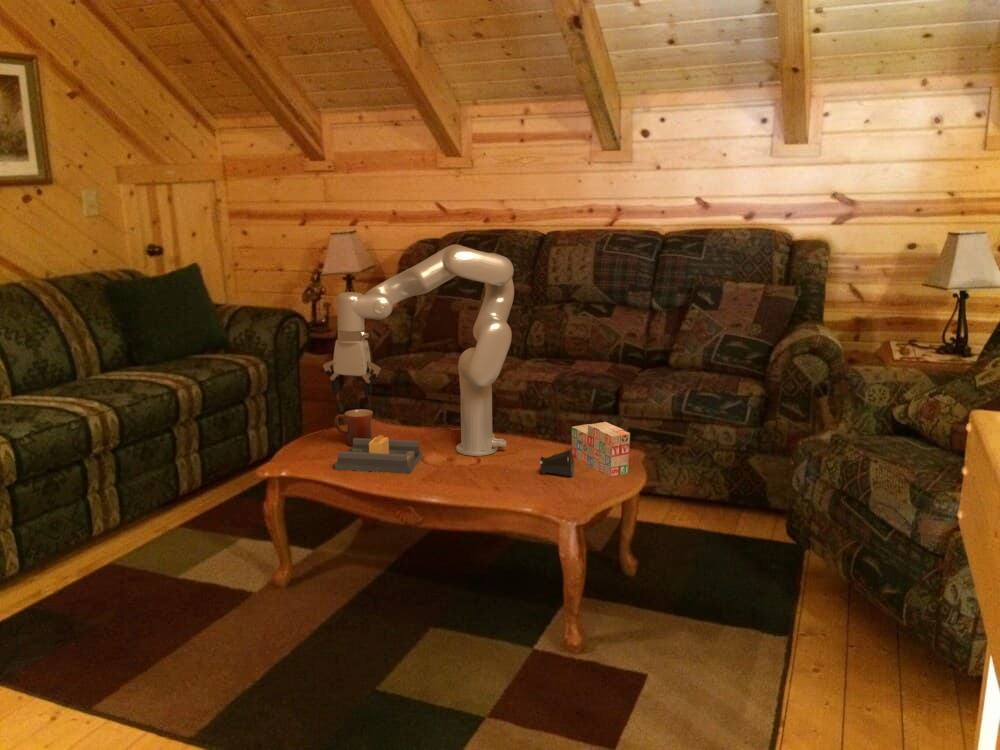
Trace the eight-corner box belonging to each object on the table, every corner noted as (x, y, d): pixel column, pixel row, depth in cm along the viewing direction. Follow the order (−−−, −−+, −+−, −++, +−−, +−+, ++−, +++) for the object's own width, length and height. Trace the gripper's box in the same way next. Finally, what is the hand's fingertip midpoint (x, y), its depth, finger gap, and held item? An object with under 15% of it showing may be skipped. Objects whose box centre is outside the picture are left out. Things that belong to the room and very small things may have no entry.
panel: (422, 458, 253) (422, 448, 252) (409, 473, 239) (409, 463, 239) (351, 454, 256) (351, 445, 256) (335, 469, 243) (334, 459, 242)
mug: (376, 440, 270) (375, 409, 268) (371, 448, 262) (370, 416, 260) (339, 440, 271) (337, 409, 269) (332, 448, 262) (331, 416, 260)
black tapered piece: (571, 479, 233) (541, 481, 235) (581, 466, 250) (553, 469, 253) (568, 452, 233) (538, 454, 235) (578, 441, 250) (550, 444, 252)
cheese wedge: (389, 453, 250) (388, 434, 249) (382, 460, 244) (382, 440, 243) (376, 453, 250) (375, 434, 249) (369, 459, 245) (368, 440, 243)
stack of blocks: (570, 456, 254) (571, 416, 251) (588, 453, 257) (589, 413, 254) (610, 478, 235) (611, 435, 232) (629, 474, 238) (630, 432, 235)
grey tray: (419, 451, 253) (419, 440, 252) (405, 467, 239) (405, 456, 238) (355, 448, 256) (354, 437, 255) (337, 463, 242) (337, 453, 241)
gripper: (384, 335, 244) (384, 393, 247) (328, 332, 247) (329, 389, 251) (374, 340, 237) (375, 399, 240) (317, 336, 240) (318, 395, 244)
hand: (352, 394), depth 246 cm, fingers open, 9 cm apart
